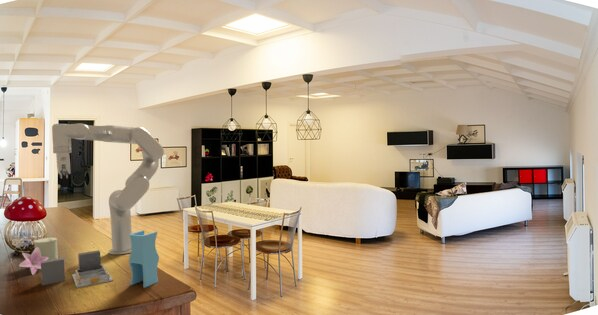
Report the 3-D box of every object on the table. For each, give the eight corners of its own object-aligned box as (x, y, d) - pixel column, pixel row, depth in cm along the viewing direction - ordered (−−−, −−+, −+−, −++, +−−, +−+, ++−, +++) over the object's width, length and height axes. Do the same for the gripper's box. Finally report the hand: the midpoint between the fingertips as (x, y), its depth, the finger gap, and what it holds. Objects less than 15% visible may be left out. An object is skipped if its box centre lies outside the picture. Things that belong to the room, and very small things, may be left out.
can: (47, 267, 186) (46, 241, 185) (30, 266, 187) (28, 241, 187) (63, 261, 195) (61, 236, 194) (46, 260, 196) (45, 236, 196)
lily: (14, 280, 173) (22, 261, 171) (14, 263, 181) (21, 245, 180) (46, 282, 180) (53, 264, 179) (44, 265, 189) (52, 248, 188)
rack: (105, 269, 180) (104, 248, 180) (112, 280, 165) (111, 257, 165) (72, 275, 173) (70, 253, 173) (76, 288, 158) (75, 263, 158)
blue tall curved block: (160, 280, 164) (157, 231, 163) (145, 287, 157) (142, 236, 156) (145, 278, 167) (143, 230, 166) (130, 285, 160) (127, 234, 159)
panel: (64, 279, 169) (63, 257, 169) (65, 281, 167) (63, 259, 166) (41, 283, 165) (40, 261, 164) (42, 285, 162) (40, 263, 162)
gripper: (72, 150, 187) (74, 187, 188) (70, 149, 201) (71, 184, 202) (53, 150, 183) (55, 188, 184) (52, 150, 197) (54, 185, 198)
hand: (64, 186), depth 193 cm, fingers open, 9 cm apart
